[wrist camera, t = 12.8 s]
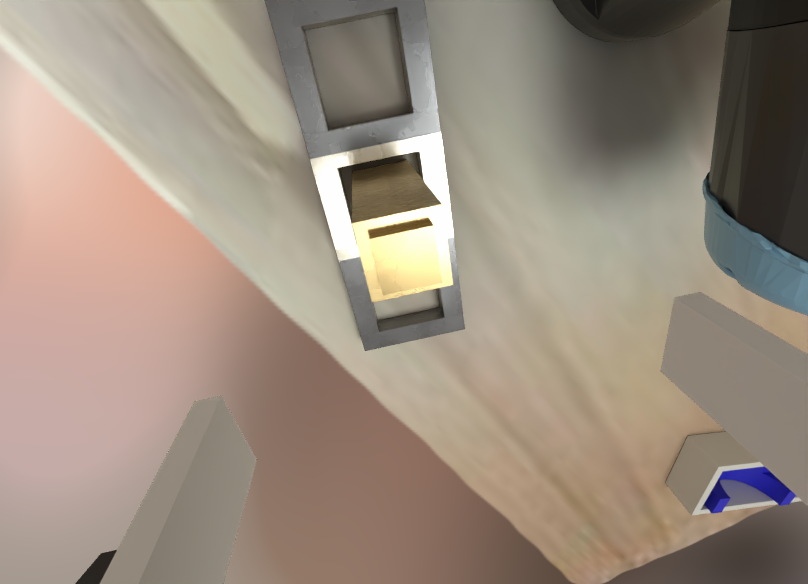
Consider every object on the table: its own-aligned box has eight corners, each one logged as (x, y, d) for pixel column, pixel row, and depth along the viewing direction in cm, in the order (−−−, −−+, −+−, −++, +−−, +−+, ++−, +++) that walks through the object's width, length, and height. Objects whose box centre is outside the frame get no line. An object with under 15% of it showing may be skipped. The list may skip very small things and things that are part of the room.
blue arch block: (762, 446, 56) (805, 483, 51) (749, 467, 58) (789, 504, 53) (689, 453, 55) (725, 491, 50) (678, 474, 57) (711, 513, 52)
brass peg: (352, 171, 31) (351, 228, 18) (407, 160, 31) (446, 208, 18) (364, 224, 33) (372, 309, 20) (416, 213, 33) (456, 291, 20)
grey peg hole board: (270, 3, 26) (263, -4, 24) (415, -25, 26) (420, -35, 24) (364, 339, 39) (364, 352, 37) (459, 318, 39) (465, 330, 37)
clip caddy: (688, 435, 53) (718, 466, 48) (803, 423, 54) (842, 452, 50) (665, 482, 57) (691, 515, 53) (772, 470, 59) (805, 500, 55)
